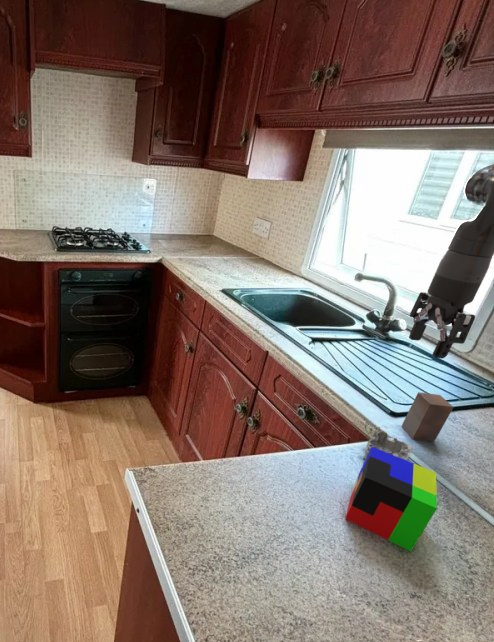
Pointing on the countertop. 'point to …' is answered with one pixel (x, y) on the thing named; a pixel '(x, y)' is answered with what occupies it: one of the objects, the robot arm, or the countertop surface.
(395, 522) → the puzzle toy
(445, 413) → the walnut block
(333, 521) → the countertop surface
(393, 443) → the egg carton
